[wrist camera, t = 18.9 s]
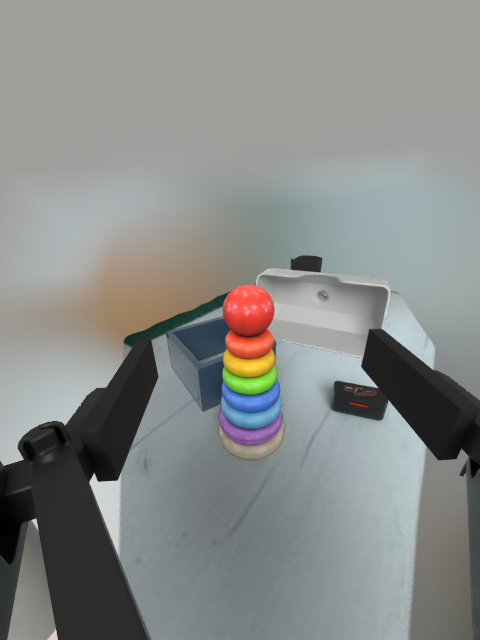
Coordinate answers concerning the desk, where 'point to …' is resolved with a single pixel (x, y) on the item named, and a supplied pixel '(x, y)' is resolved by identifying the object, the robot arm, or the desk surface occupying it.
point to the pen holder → (307, 263)
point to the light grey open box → (325, 308)
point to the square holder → (196, 346)
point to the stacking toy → (250, 377)
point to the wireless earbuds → (359, 400)
